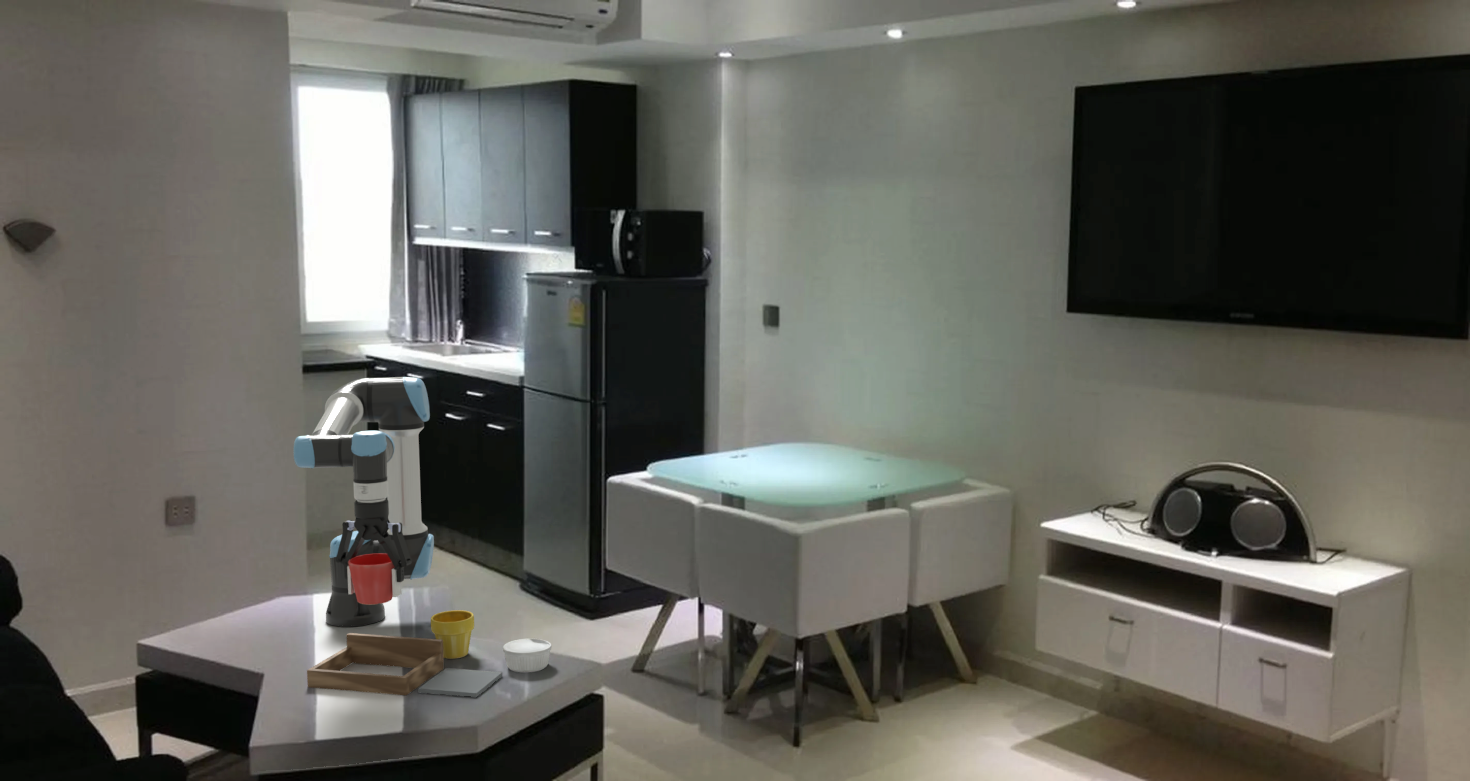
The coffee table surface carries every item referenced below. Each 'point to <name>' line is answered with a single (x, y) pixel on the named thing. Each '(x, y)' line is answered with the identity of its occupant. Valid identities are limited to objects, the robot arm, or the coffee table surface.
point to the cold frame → (379, 652)
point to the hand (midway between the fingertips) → (374, 593)
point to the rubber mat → (460, 682)
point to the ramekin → (527, 654)
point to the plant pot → (453, 632)
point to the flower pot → (372, 578)
